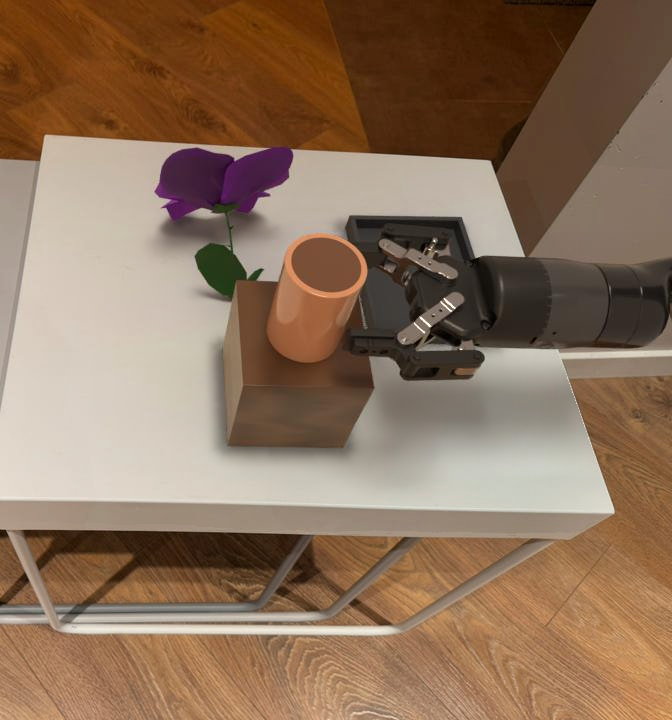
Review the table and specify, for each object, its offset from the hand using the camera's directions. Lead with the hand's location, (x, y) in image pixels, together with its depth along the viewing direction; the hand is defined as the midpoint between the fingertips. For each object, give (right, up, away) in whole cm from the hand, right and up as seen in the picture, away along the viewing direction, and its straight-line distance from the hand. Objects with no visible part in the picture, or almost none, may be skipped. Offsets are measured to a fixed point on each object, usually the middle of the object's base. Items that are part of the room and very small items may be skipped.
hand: (337, 296), depth 62 cm
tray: (+13, +3, +23) cm, 26 cm away
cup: (-2, -3, +4) cm, 5 cm away
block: (-3, -9, +13) cm, 16 cm away
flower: (-8, +6, +23) cm, 25 cm away
